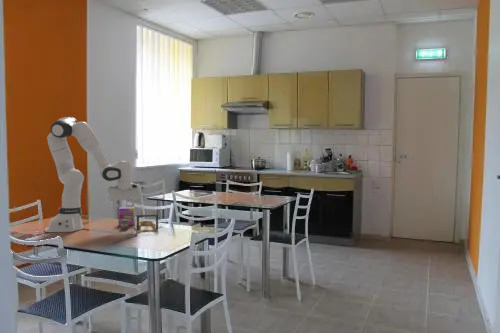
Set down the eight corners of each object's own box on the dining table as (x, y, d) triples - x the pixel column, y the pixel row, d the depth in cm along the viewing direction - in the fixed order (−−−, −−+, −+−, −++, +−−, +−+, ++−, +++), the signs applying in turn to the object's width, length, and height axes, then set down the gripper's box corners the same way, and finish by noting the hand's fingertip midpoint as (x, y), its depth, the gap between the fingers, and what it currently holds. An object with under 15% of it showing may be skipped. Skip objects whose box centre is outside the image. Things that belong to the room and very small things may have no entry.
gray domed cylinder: (120, 230, 280) (120, 220, 279) (120, 228, 284) (120, 219, 284) (128, 229, 281) (128, 220, 281) (127, 228, 286) (127, 219, 286)
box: (118, 225, 294) (118, 208, 294) (119, 224, 300) (119, 207, 299) (134, 225, 296) (134, 208, 295) (135, 223, 301) (135, 206, 301)
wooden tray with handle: (136, 232, 273) (136, 215, 272) (133, 227, 288) (133, 211, 287) (158, 231, 278) (158, 214, 277) (154, 226, 293) (154, 210, 292)
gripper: (107, 186, 275) (108, 208, 275) (141, 185, 282) (141, 206, 283) (107, 185, 280) (107, 207, 281) (139, 184, 288) (140, 205, 289)
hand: (125, 206), depth 282 cm, fingers open, 8 cm apart
